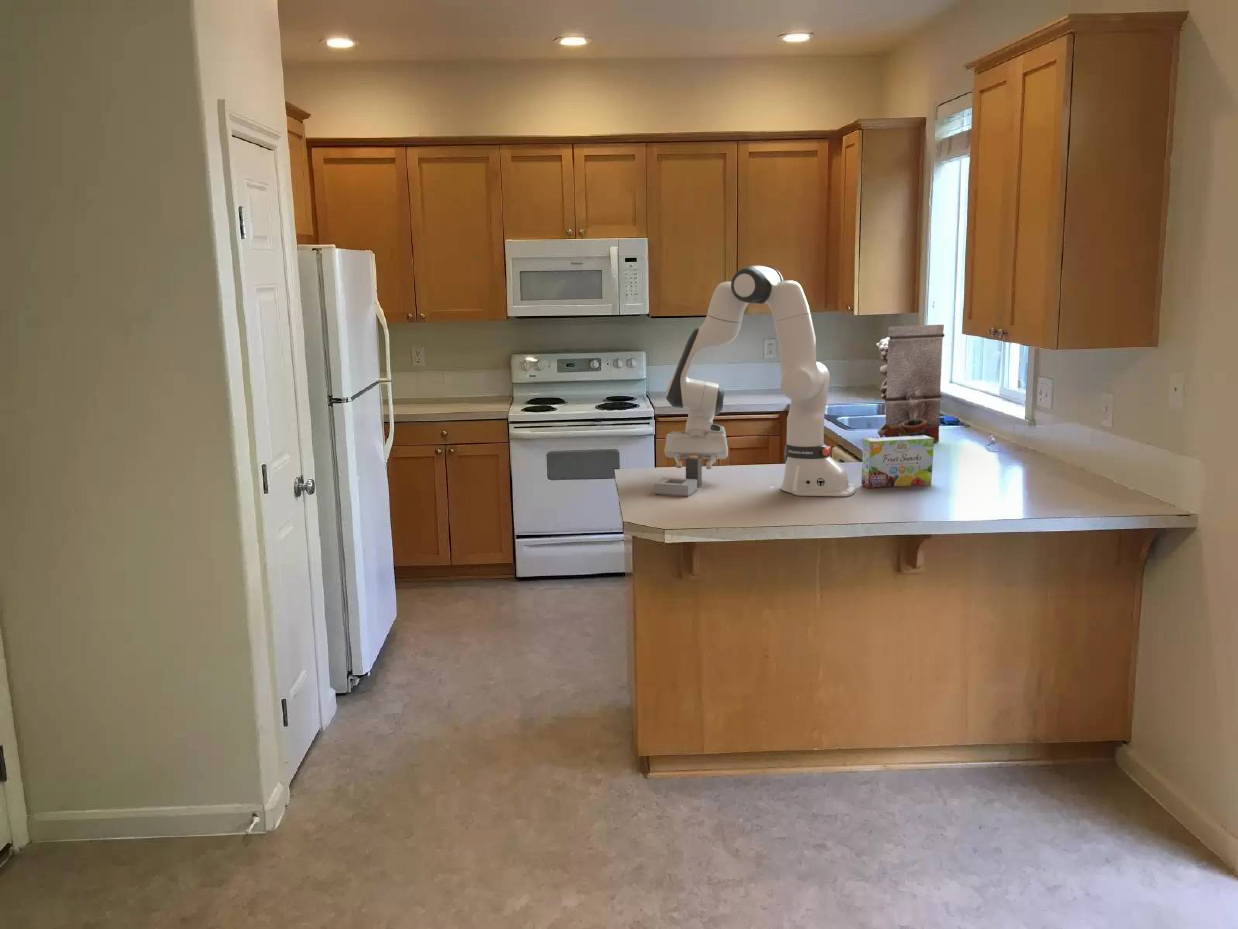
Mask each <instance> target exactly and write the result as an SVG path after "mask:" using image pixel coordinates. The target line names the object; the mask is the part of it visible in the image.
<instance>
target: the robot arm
mask: <svg viewBox="0 0 1238 929" xmlns="http://www.w3.org/2000/svg"><path fill="white" fill-rule="evenodd" d="M749 304H761V305H763V304H766V305H767V306H768V307H769V310H770V312H771V315H772V320H773V324H774V330H775V334H776V339H777V343H778V347H779V360H780V364H779V365H780V373H781V380H780V388H781V391H782V393H783V394H784V396H785V397H786V398H788V399H789V400H790V405H789V411H788V415H787V418H786V443H785V446H784V462H785V467H784V474H783V479H782V483H781V486H780V489H781V490H782V491H784V492H787V493H790V494H793V495H795V496H803V497H805V496H807V497H808V496H810V497H849V496H852V495H853V493H854V494H855V493H856V491H857V489H856V488H857V487H856V485H855V484H852V483H850V482H849V475H848V471H847V470H846V468H845V467H844V466H842V465H841V464H840V463H838V462H837V461H836V460H834V458H832V457H831V446H830V445H827V444H825V443H824V440H825V438H824V434H825V414H826V409H827V408H826V407H827V402H828V393H829V385H830V379H831V375H830V371H829V369H828V367H826V365H824V364H823V363H821V362H819V361H817V350H816V348H817V347H816V343H817V341H816V340H817V338H816V333H815V330H814V329H815V328H814V324H813V320H812V315H811V311H810V306H809V304H808V301H807V297H806V295H805V293H804V289H803V287H802V285H801V284H800V283H799V282H797V281H794V280H792V279H791V280H784V277H783V275H782V274H781V273H780V271H779V270H778V269H777V268H775V267H773V266H769V265H764V266H763V265H759V264H758V265H756V264H755V265H750V266H744V267H743V268H741V269H739V270H737V271H736V272H735V273H734V275H733V276H732V278H731V281H723V282H721V283H719V284H718V285H716V287H715V290H714V292H713V294H712V297H711V300H710V303H709V305H708V310H707V314H706V317H705V320H704V321H703V323H702V324H701V325H700V326H699V327H697V328H694V329H693V330H692V332H691V333H690V335H689V338H688V340H687V342H686V345H685V346H684V349H683V351H682V354H681V356H680V359H679V361H678V364H677V366H676V369H675V371H674V373H673V376H672V377H671V379H670V381H669V382H668V385H667V387H666V390H665V399H666V401H667V402H668V403H669V404H670V405H671V407H673V408H678V409H679V408H680V409H688V410H687V416H688V417H687V420H686V423H685V428H684V430H685V431H671V432H668V433H667V434H666V436H665V437H666V438H665V445H664V455H665V456H666V457H667V458H672V459H673V458H674V461H675V462H676V465H675V466H676V469H683V467H682V466H683V463H682V462H683V461H682V460H680V459H686V458H688V457H689V456H691V455H695V456H698V457H702V459H710V460H709V461H706V463H705V464H706V465H705V468H706V470H712V467H713V465H714V464H715V463H716V460H725V459H727V458H728V456H729V454H728V453H729V448H728V441H727V435H726V434H727V433H726V429H725V427H724V426H722V425H719V424H715V423H714V422H713V421H714V419H715V417H717V416H718V415H719V414H720V413H721V412H722V410H723V407H724V396H725V390H724V388H723V387H722V386H721V384H719V383H716V382H713V381H707V380H702V379H701V380H699V379H696V378H690V377H688V375H689V372H690V369H691V367H692V364H693V363H694V360H695V357H696V356H697V355H698V354H699V353H700V352H702V351H704V350H709V349H713V348H719V347H723V346H726V345H728V344H730V343H733V341H734V340H735V339H736V338H737V337H738V335H739V332H740V330H741V325H742V323H743V322H742V321H743V317H744V313H745V310H746V308H747V306H748V305H749Z"/></svg>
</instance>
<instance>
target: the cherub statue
mask: <svg viewBox="0 0 1238 929" xmlns="http://www.w3.org/2000/svg"><path fill="white" fill-rule="evenodd" d="M944 327H945V325H944V324H924V325H923V324H922V325H899V326H898V325H897V326H896V325H895V326H888V337H886V338H882V339H881V340H880V341H879V342H877V343H876V347H877V348H878V350H879V353H880V356H881V360H882V361H884V362H885V363H886V364H884V365H881V366H880V368H879V372H880V373H881V374H882V375H883V376H885V377H886V379H885V380H884V381H883V382H882V384H881V387H880V390H879V391H880V393H881V397H880V398H881V399H883V400H884V403H885V405H884V409H883V410H884V415H885V421H884V423H883V424H882V425H881V427H879V429H878V430H877V434H878V437H880V438H883V437H891V434H890V431H889V430H886V429H885V426H886V425H891V426H899V427H901V426H900V424H901V423H903V422H904V421H906V420H910V419H924V420H926V421H927V423H926V426H925V434H924V435H925V436H929V437H931V438H934V443H939V442H940V440H939V439H940V434H939V433H940V421H941V419H940V418H941V417H940V416H941V413H940V410H941V399H942V394H941V386H942V383H941V379H942V377H941V376H942V360H943V359H942V355H943V340H944V337H945V335H946V334H944ZM894 433H895V435H896V437H899V434H901V433H900V431H899V430H894Z"/></svg>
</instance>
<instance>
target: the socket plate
mask: <svg viewBox="0 0 1238 929" xmlns="http://www.w3.org/2000/svg"><path fill="white" fill-rule="evenodd" d="M697 491H698V488H697V479H686V478H679V477H661V478H660V479H659V480H657V481H655V482H654V483H653V495H654V494H661V495H660V496H667V495H669V497H681V496H687V497H686V498H689V497H690V496H692V495H693V494H695V493H697ZM688 496H689V497H688Z"/></svg>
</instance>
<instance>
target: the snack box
mask: <svg viewBox="0 0 1238 929" xmlns="http://www.w3.org/2000/svg"><path fill="white" fill-rule="evenodd" d="M863 438H864V439H863ZM863 438H862V440H863V441H862V461H861V462H862V463H861V481H860V484H861V485H862V486H863V487H865V486H866V487H865V488H866V489H875V488H874V487H881V488H892V487H891V486H899V487H914V485H915V486H928V485H929V484H930V485H932V479H933V478H932V477H933V476H932V475H933V463H934V462H933V461H934V447H935V446H934V445H935V442H934V438H931V437H929V436H925V435H923V436H903V437H883V438H872V437H863ZM930 485H929V486H930ZM889 486H890V487H889Z"/></svg>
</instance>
